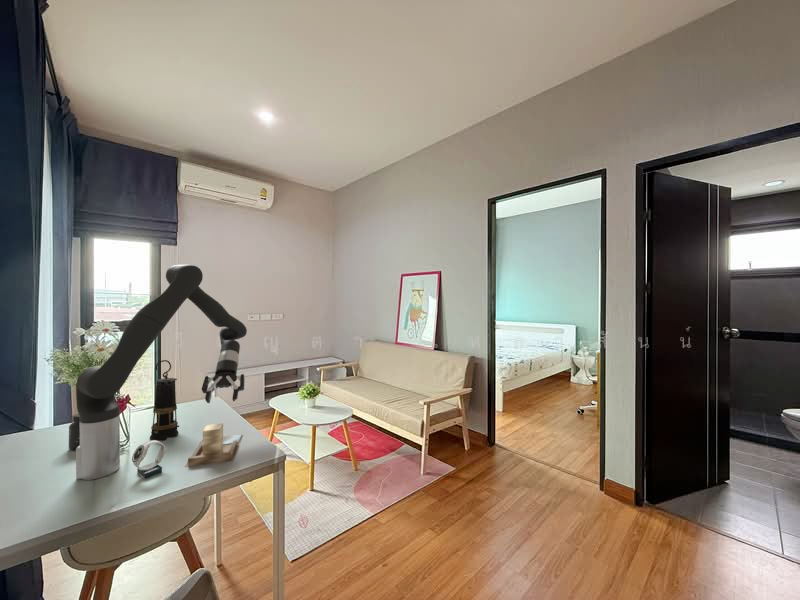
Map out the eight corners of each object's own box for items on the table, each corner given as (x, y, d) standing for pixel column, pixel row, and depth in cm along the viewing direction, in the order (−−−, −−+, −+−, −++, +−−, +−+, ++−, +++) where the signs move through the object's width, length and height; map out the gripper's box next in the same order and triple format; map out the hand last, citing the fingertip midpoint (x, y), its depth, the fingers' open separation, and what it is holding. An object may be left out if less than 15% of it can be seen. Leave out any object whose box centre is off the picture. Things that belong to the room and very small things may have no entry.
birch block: (202, 460, 106) (202, 430, 106) (206, 453, 111) (206, 424, 110) (219, 458, 107) (219, 429, 107) (223, 451, 112) (223, 423, 112)
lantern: (181, 436, 127) (180, 360, 127) (152, 443, 120) (152, 364, 120) (175, 429, 133) (175, 357, 133) (147, 436, 127) (147, 360, 126)
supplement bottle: (81, 451, 114) (81, 418, 114) (62, 451, 114) (62, 417, 114) (100, 442, 121) (100, 411, 121) (82, 442, 121) (82, 410, 121)
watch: (129, 481, 97) (129, 445, 96) (160, 469, 103) (160, 435, 103) (137, 487, 94) (137, 450, 93) (168, 474, 100) (168, 439, 100)
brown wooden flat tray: (184, 471, 102) (184, 459, 102) (202, 443, 121) (202, 432, 121) (233, 465, 106) (233, 453, 106) (243, 438, 125) (243, 428, 125)
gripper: (206, 359, 126) (197, 398, 115) (245, 358, 130) (240, 394, 119) (209, 370, 131) (201, 407, 120) (247, 368, 135) (243, 404, 124)
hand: (221, 401), depth 120 cm, fingers open, 8 cm apart
